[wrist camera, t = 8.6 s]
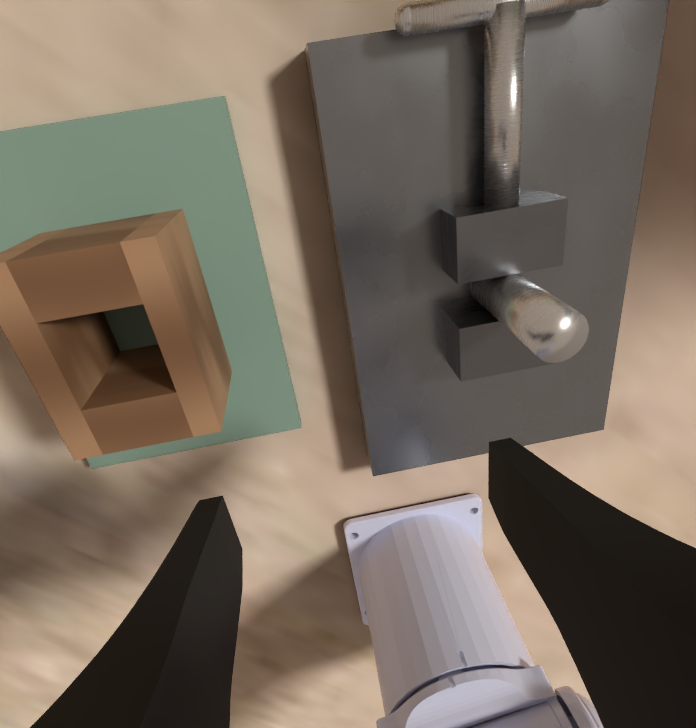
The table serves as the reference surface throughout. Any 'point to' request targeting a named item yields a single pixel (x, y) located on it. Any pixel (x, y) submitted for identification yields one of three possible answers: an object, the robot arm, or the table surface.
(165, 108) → the mat
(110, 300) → the sleeve block
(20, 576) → the table surface
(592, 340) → the vise
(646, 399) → the table surface
